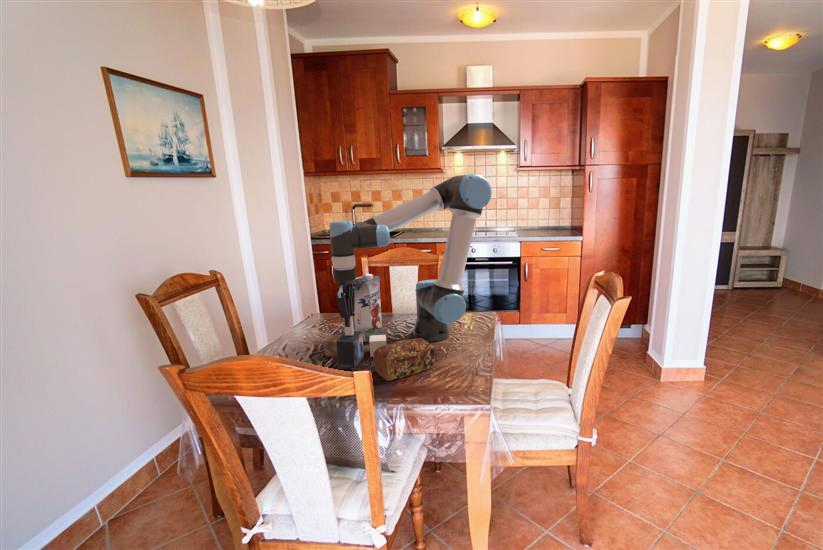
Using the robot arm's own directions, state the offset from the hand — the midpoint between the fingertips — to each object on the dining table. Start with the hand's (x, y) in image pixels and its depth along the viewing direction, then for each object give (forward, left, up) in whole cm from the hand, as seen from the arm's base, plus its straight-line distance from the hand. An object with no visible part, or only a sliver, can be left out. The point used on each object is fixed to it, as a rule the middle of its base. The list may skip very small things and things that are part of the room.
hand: (349, 334), depth 136 cm
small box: (0, 0, -11) cm, 11 cm away
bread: (-20, +2, -11) cm, 23 cm away
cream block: (-7, -10, -11) cm, 16 cm away
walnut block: (+9, -8, -11) cm, 16 cm away
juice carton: (+1, -24, -11) cm, 26 cm away
